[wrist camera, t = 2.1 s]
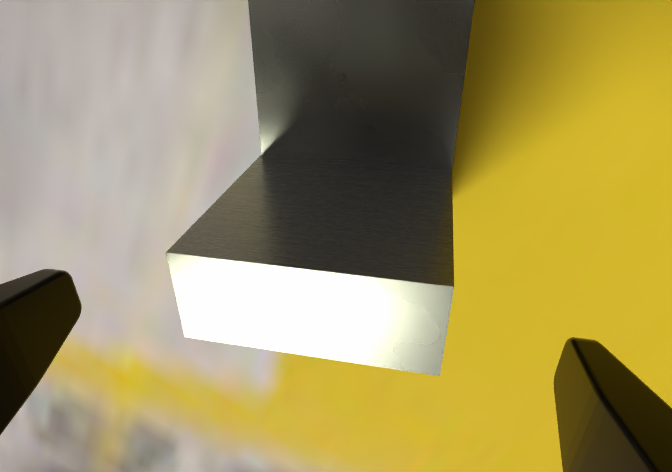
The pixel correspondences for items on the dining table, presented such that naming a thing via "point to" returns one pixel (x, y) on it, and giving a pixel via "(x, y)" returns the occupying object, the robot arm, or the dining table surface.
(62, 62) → the dining table surface
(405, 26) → the bracket
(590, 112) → the dining table surface
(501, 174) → the dining table surface
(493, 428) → the dining table surface
